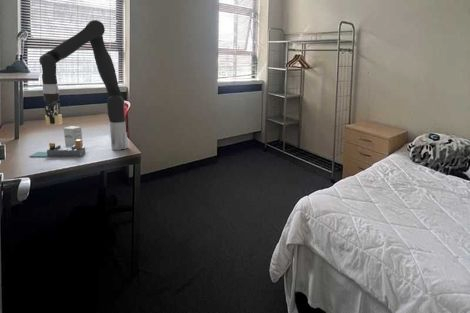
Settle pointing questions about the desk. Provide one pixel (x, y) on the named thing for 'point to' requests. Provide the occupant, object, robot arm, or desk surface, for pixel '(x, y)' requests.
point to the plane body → (66, 150)
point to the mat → (39, 154)
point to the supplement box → (72, 135)
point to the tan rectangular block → (55, 119)
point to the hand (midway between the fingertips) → (54, 122)
